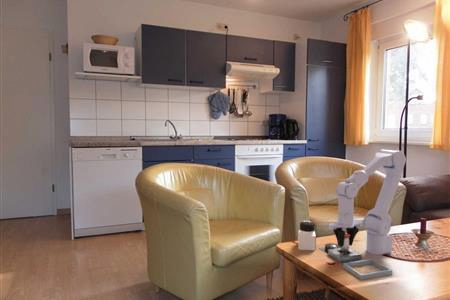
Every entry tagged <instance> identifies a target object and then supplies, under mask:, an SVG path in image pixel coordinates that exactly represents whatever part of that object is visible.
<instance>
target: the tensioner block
mask: <svg viewBox="0 0 450 300" xmlns="http://www.w3.org/2000/svg"><path fill="white" fill-rule="evenodd" d="M318 249H319V251H322V252H324V254H326V255H328V256H330V257H331V258H333V259H334V260H335V261H337V262H339V263H340V264H343V263H348V262H355V261H361V260H363V254H362V253H360V252H358V251H357V250H355V249H353V248H352V247H351V246H349V254H345V255H343V254H341V247H340V246H338V243H330V242H329V243H326V244H325V245H324V246H323V247H318Z"/></svg>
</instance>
